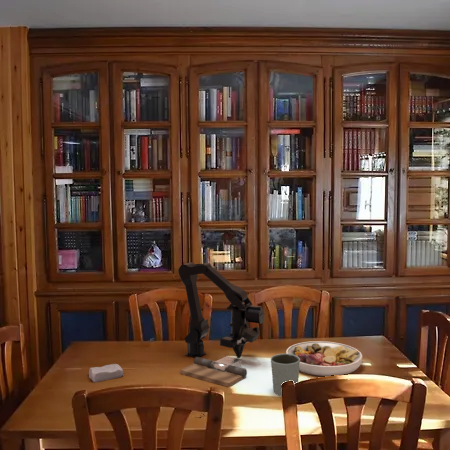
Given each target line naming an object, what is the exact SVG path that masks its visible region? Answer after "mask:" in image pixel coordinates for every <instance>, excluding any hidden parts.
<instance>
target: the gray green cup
mask: <svg viewBox="0 0 450 450" xmlns="http://www.w3.org/2000/svg"><path fill="white" fill-rule="evenodd" d="M299 364H300V358H299V357H298V356H296V355H292V354H286V353H277V354H275V355H273V356H271V357H270V366H271V375H272V376H271V377H272V391H273V393H274V395H275V394H276V395H277V394H278V395H277V396H280V395H281V384H282V383H283V382H285V381H289V380H293V381H294V383H296V382H298V383H299V377H300V376H299V375H300V371H299ZM279 394H280V395H279Z"/></svg>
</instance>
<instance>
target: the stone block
mask: <svg viewBox="0 0 450 450" xmlns="http://www.w3.org/2000/svg"><path fill="white" fill-rule="evenodd" d="M123 376H124V370H123V368H122V367H121V366H120V365H119V364H117V363H111V364H106V365H103V366H96V367H90V368H89V371H88V378H89V379H90V380H91V381H92V382H93V383H98V382H103V381H108V380H113V379H119V378H122V377H123Z"/></svg>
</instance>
